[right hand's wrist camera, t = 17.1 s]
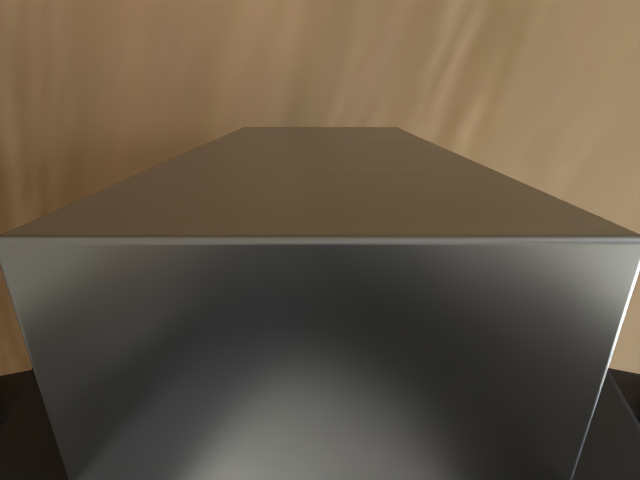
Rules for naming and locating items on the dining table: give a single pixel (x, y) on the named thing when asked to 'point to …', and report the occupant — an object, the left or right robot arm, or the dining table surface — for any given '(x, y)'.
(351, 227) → the box
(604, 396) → the right robot arm
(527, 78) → the dining table surface
